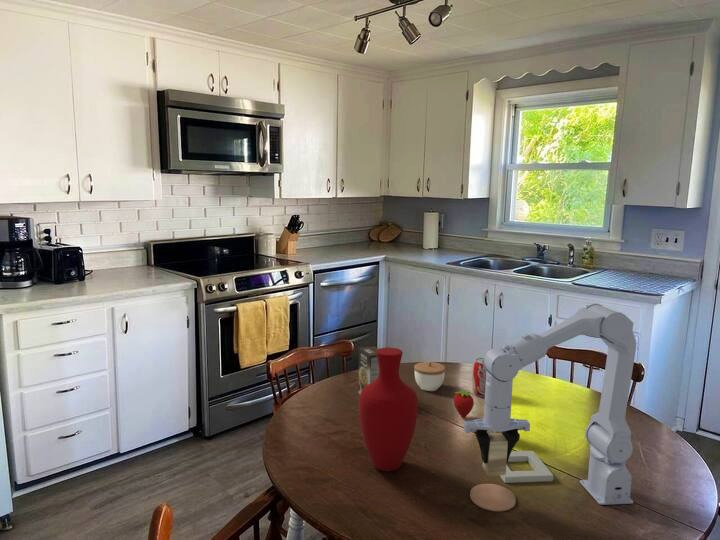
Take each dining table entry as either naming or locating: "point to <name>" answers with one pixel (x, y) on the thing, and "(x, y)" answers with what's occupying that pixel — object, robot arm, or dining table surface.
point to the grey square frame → (534, 475)
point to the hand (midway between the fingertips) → (494, 460)
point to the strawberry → (463, 403)
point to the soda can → (479, 378)
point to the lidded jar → (429, 375)
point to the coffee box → (367, 367)
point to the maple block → (496, 455)
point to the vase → (388, 413)
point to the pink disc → (492, 497)
